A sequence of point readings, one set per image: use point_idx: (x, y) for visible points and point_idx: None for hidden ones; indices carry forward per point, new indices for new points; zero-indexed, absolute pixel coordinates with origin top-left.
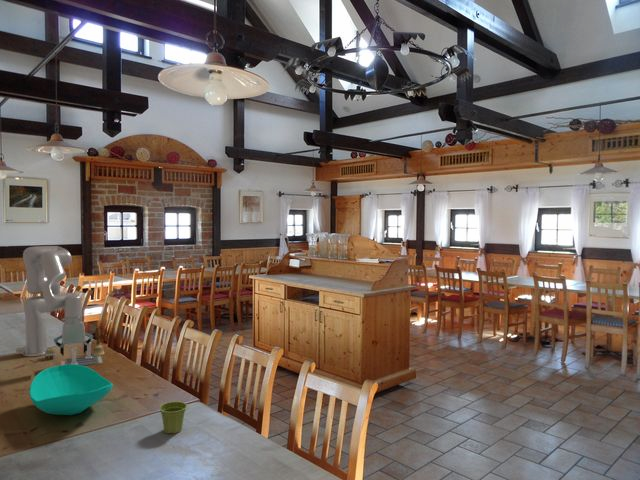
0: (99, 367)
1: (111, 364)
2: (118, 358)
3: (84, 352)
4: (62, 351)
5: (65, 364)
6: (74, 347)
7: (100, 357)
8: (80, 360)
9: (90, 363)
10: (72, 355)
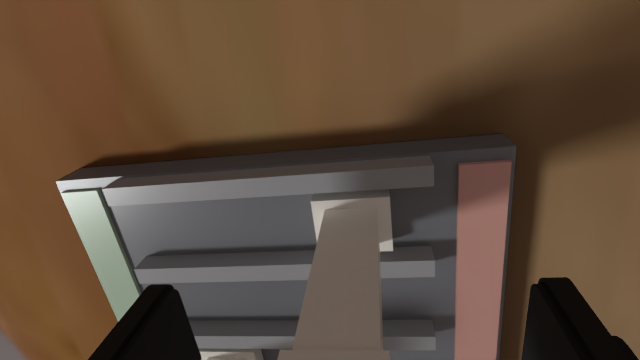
0: (101, 134)
1: (17, 189)
2: (26, 326)
3: (160, 290)
4: (609, 352)
5: (449, 281)
6: None
7: None
8: None
9: (168, 179)
10: (368, 286)
